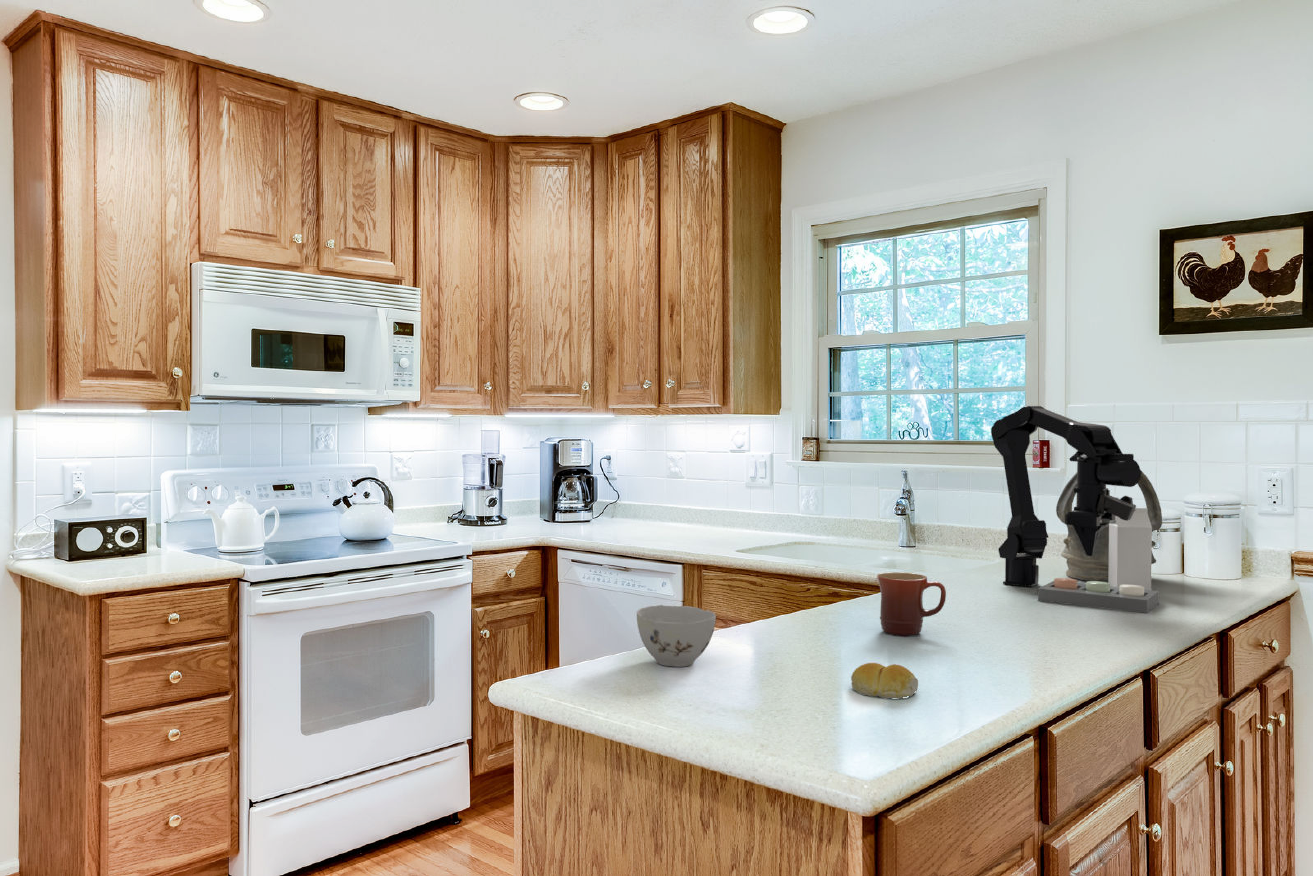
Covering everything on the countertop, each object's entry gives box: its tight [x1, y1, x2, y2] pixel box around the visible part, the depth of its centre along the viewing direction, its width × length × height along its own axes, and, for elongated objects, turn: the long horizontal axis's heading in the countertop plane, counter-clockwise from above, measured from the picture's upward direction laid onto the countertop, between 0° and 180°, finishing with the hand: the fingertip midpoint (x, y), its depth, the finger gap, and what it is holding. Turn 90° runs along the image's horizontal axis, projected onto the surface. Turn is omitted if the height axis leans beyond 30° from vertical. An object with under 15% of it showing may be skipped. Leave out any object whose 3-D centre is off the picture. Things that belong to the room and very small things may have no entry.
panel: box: [1037, 580, 1160, 614], centre depth 197 cm, size 21×13×3 cm, turn 52°
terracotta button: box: [1053, 577, 1078, 589], centre depth 201 cm, size 5×5×3 cm
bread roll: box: [850, 662, 919, 699], centre depth 130 cm, size 8×9×4 cm
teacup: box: [636, 604, 717, 668], centre depth 146 cm, size 15×12×8 cm
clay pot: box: [1055, 470, 1163, 583], centre depth 229 cm, size 22×23×30 cm
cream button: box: [1119, 585, 1144, 597], centre depth 193 cm, size 5×5×3 cm
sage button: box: [1085, 581, 1110, 593], centre depth 197 cm, size 5×5×3 cm
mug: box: [876, 571, 947, 637], centre depth 166 cm, size 12×9×10 cm
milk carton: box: [1108, 507, 1153, 590], centre depth 210 cm, size 7×7×19 cm
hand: (1089, 555), depth 199 cm, fingers closed
